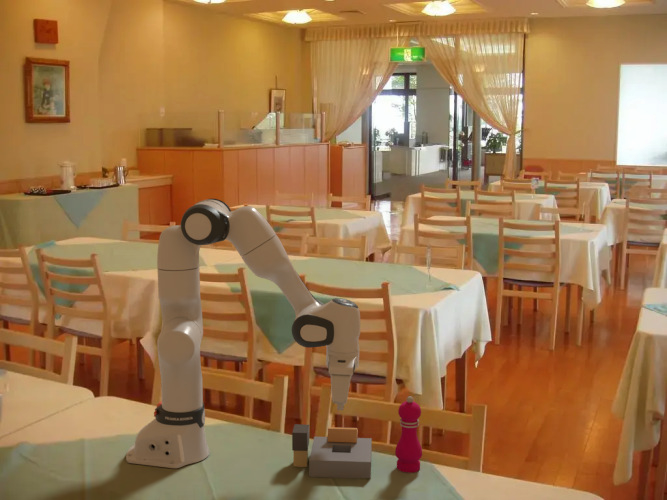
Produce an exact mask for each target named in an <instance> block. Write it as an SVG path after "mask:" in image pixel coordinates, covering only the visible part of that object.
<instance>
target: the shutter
mask: <svg viewBox="0 0 667 500" xmlns="http://www.w3.org/2000/svg"><path fill="white" fill-rule="evenodd" d="M358 434H359V431H358V428H357V427H339V426H338V427H335V426H334V427H332V426H331V427H330V426H328V427H327V437H328V442H351V443H357V438H358Z"/></svg>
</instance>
